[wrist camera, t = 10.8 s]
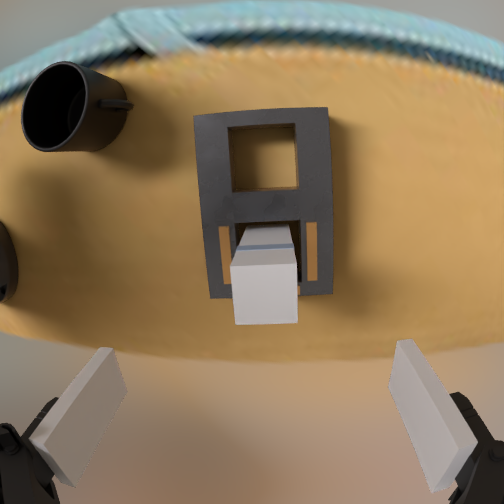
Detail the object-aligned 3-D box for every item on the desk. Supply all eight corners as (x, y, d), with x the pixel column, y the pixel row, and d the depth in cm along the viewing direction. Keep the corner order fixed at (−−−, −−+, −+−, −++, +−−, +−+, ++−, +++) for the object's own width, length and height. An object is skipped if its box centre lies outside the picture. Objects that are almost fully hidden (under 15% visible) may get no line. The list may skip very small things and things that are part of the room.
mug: (145, 151, 34) (106, 150, 25) (63, 151, 34) (17, 154, 25) (153, 72, 31) (119, 50, 22) (71, 81, 31) (27, 69, 23)
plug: (249, 265, 36) (234, 325, 23) (246, 225, 35) (229, 265, 22) (290, 263, 36) (298, 323, 23) (288, 223, 35) (297, 262, 21)
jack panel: (216, 286, 37) (209, 299, 34) (201, 120, 32) (192, 115, 29) (327, 281, 36) (333, 295, 33) (322, 112, 31) (328, 106, 27)
